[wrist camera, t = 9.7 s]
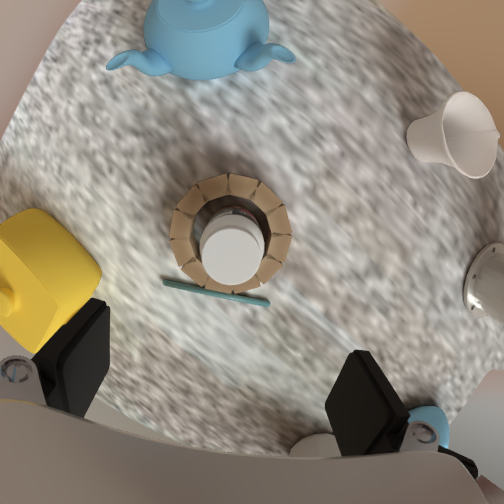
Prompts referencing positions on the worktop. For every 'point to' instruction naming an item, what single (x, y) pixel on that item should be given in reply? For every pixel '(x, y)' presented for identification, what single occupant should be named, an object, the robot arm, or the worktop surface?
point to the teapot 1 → (41, 277)
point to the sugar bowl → (432, 421)
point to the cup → (457, 136)
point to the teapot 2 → (204, 39)
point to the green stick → (216, 293)
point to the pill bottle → (232, 246)
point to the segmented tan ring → (239, 187)
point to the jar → (316, 446)
